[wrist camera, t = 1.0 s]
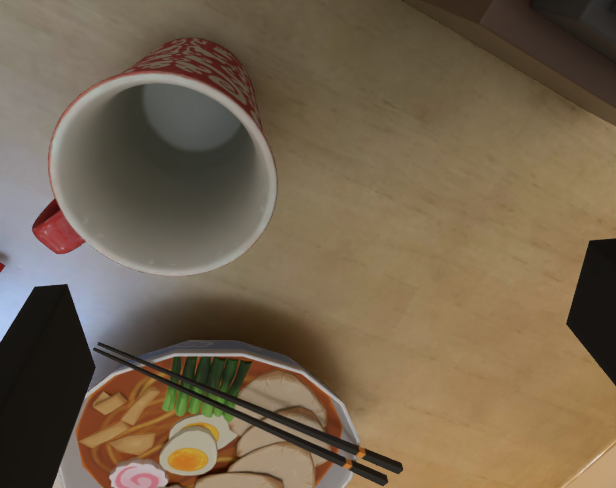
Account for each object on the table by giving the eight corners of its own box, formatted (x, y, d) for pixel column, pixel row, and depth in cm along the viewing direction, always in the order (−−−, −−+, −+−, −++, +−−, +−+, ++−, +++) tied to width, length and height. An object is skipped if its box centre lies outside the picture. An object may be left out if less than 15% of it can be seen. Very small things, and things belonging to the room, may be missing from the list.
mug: (218, -13, 30) (196, 24, 18) (294, 123, 34) (315, 222, 22) (42, 95, 32) (-79, 189, 20) (135, 210, 36) (79, 340, 25)
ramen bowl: (22, 414, 45) (-20, 503, 38) (157, 227, 37) (135, 295, 30) (258, 502, 55) (258, 585, 48) (406, 368, 46) (434, 445, 39)
